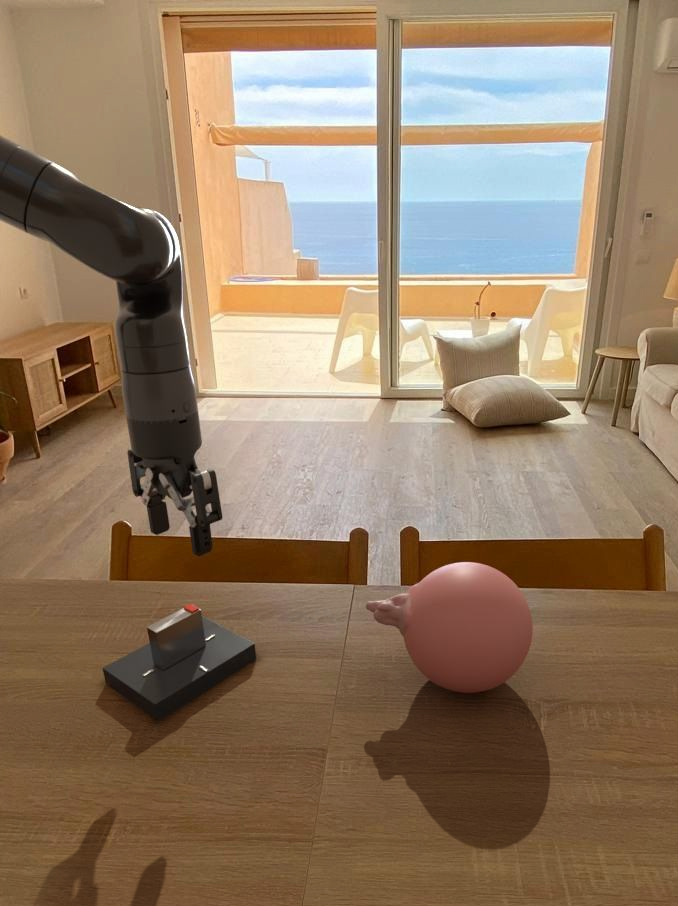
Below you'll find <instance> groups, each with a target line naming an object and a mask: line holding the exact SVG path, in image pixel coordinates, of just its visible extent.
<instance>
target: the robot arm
mask: <svg viewBox="0 0 678 906" xmlns="http://www.w3.org/2000/svg"><path fill="white" fill-rule="evenodd" d="M0 221H1V222H3V223H5V224H7V225H9V226H11V227H13V228H16V229H18V230H19V231H21V232H24V233H26V234H28V235H30V236H33V237H35V238H38V239H40V240H42V241H45V242H48V243H49V244H51V245H53V246H55V247H56V248H57V249H59V250H61V251H62V252H63V253H65V254H66V255H68V256H70V257H71V258H73V259H74V260H76V261H78V262H80V263H81V264H83V265H84V266H85V267H88V268H90V269H91V270H93V271H95V272H96V273H98V274H100V275H102V276H104V277H106V278H108V279H110V280H113V281H115V285H116V292H117V301H118V311H117V314H116V317H115V320H114V335H115V342H116V349H117V355H118V361H119V367H120V374H121V394H122V401H123V406H124V412H125V419H126V424H127V430H128V436H129V442H130V449H128V450H127V460H128V467H129V474H130V481H131V487H132V488H131V489H132V493H133V495H134V497H136V498H138V497H141V503H142V504H143V506H145V507H146V511H147V517H148V523H149V530H150V532H151V534H153V535H156V536H158V535H160V534H163V533H165V532H168V531H169V530H170V527H171V525H170V519H169V512H168V506H167V502H166V501H165V499H166V497H167V498H169V499H170V500H172V502H173V504H174V506H175V508H176V509H177V510H178V511H180V512H182V513H183V515H184V517H185V518H186V520H187V522H188V525H189V526H188V530H189V537H190V543H191V551H192V553H193V555H195V556H197V557H201V556H204V555H207V554H208V553H210V552H212V550H213V539H212V530H211V524H214V523H217V522H219V521H222V520H223V511H222V504H221V499H220V498H221V497H220V491H219V486H218V479H217V473H216V471H215V470H214V468H208V469H206V470H202V469H199V467H198V465H197V463H196V459H195V456H196V453H197V452H198V451H199V450H200V449H201V447H202V445H203V440H202V439H203V438H202V431H201V422H200V415H199V408H198V407H199V406H198V399H197V392H196V383H195V379H194V377H193V372H192V368H191V364H190V363H191V362H190V353H189V345H188V338H187V332H186V327H185V321H184V313H183V267H182V254H181V249H180V242H179V238H178V235H177V233H176V230H175V229H174V227H173V226H172V224H171V223H170V221H169V220H168V219H167V218H166V217H165V216H164V215H163V214H161V213H160V212H158V211H156V210H155V209H152V208H148V207H145V206H133V205H129V204H128V203H125V202H123V201H120V200H119V199H116V198H114V197H112V196H110V195H108V194H106V193H104V192H102V191H100V190H98V189H96V188H95V187H92V186H90V185H88V184H86V183H85V182H83V181H82V180H81V179H80V178H79V177H78V176H77V175H76V174H75V173H73V172H71V171H70V170H68V169H67V168H65V167H64V166H61V165H60V164H58V163H56V162H54V161H52V160H50V159H49V158H46V157H44V156H43V155H41V154H38V153H37V152H35V151H32V150H31V149H28V148H27V147H25V146H23V145H22V144H19V143H17V142H15V141H13V140H10V139H9V138H7V137H5V136H3V135H1V134H0ZM144 477H145V478H144ZM142 478H144V480H143V483H142V484H141V479H142ZM190 495H192V496H191V497H189V496H190ZM186 497H189V498H186ZM209 505H210V507H209ZM192 507H195V508H194V509H195V512H194V510H193V508H192ZM210 508H211V509H210ZM195 513H196V514H195Z"/></svg>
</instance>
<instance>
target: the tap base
mask: <svg viewBox="0 0 678 906" xmlns="http://www.w3.org/2000/svg"><path fill="white" fill-rule="evenodd" d="M202 621H203V628H204V635H205V642H206V646H205V647H203V648H201V649H200V650H198V651H196V652H194V653H193V654H191V655H189V656H187V657H186V658H184V659H182V660H180V661H179V662H177V663H175V664H174V665H172V666H170V667H168V668H167V669H165V670H162V669H160V668H158V667H157V666H155V665H154V664H153V658H152V653H151V647H150V642H149V643H147V644H145V645H143V646H141V647H140V648H137V649H136V650H135V649H134V650H133V651H131V652H130V653H128V654H126V655H123V656H122V657H120V658H119V659H116V660H115V661H113V662H111V663H109V664H107V665H105V666H103V667H102V672H103V677H104V682H105V685H106V686H108V687H109V688H110V689H111V690H113V691H114V692H116V693H118V694H119V695H120V696H122V697H123V698H124V699H126V700H127V701H128V702H130V703H131V704H133V705H134V706H136V707H137V708H139V709H140V710H141V711H143V712H144V713H145V714H147V715H149V716H150V717H151V718H152V719H154V720H155V721H157V722H160V721H162V720H163V719H165V718H166V717H168V716H169V715H171V714H173V713H174V712H176V711H177V710H179V709H180V708H181V707H184V706H185V705H186V704H189V703H190V702H191V701H193V700H194V699H196V698H198V697H199V696H201V695H203V694H204V693H206V692H207V691H209V690H210V689H212V688H213V687H215V686H217V685H218V684H220V683H221V682H223V681H224V680H227V679H228V678H230V677H231V676H233V675H234V674H236V673H237V672H239V671H241V670H242V669H244V668H245V667H247V666H248V665H250V664H252V663H253V662H255V661H256V660H257V651H256V644H255V642H253V641H251V640H249V639H247V638H245V637H243V636H242V635H241V634H240V635H239V634H238V633H236V632H234V631H232V630H230V629H228V628H227V627H224V626H222V625H220V624H218V623H217V622H215V621H213V620H211V619H209V618H208V617H205V616H203V615H202Z"/></svg>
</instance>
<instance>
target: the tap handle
mask: <svg viewBox="0 0 678 906" xmlns="http://www.w3.org/2000/svg"><path fill="white" fill-rule="evenodd" d="M202 616H203V615H202V609H201V608H199V607H198V606H196V605H194V604H192V603H189V604H187V605H184V606H183V608H180V609H179V610H178V611H175V612H173V613H172V614H169V615H167V616H165V617H163V618H162V619H160V620H158V621H156V622H154V623H152V624H150V625H147V626H146V630H147V635H148V636H147V637H148V640H149V641H148V642H149V643H150V647H151V653H152V658H153V664H154V665H155V666H157V667H158V668H160V669H162V670H165V669H167V668H168V667H170V666H172V665H174V664H175V663H177V662H179V661H180V660H182V659H184V658H186V657H187V656H189V655H191V654H193V653H194V652H196V651H198V650H200V649H201V648H203V647H205V646H206V642H205V635H204V628H203V621H202Z"/></svg>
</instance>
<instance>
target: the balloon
mask: <svg viewBox="0 0 678 906" xmlns="http://www.w3.org/2000/svg"><path fill="white" fill-rule="evenodd" d="M365 609H366V610H368V611H370V612H371V613H373V618H374V620H375V621H376V622H377V623H379V624H381V625H384V626H390V627H391V626H392V627H395V628H396V629H398V630H399V632H400V635H401V636H402V637H403V641H404V645H405V648H406V651H407V653H408V656H409V658H410V659H411V661H412V662H413V664H414V666H415V667H416V668H417V669H418V671H419V672H420V673H421V674H422V675H423V676H424V677H425V678H427V679H428V680H429V681H431V682H432V683H433V684H435V685H437V686H439V687H440V688H443V689H445V690H449V691H452V692H457V693H462V694H475V693H481V692H486V691H490V690H492V689H495V688H496V687H499V686H501V685H502V684H504V683H505V682H507V681H508V680H509V679H511V678H512V677H513V676H514V675H515V674H516V673H517V671H518V670H520V668H521V666H522V665H523V663H524V662H525V661H526V658H527V656H528V654H529V651H530V648H531V645H532V641H533V627H534V626H533V617H532V613H531V608H530V606H529V604H528V601H527V599H526V597H525V595H524V594H523V591H521V589H520V588H519V587H518V585H517V584H516V583H515V582H514V581H513V580H512V579H511V578H509V577H508V576H507V575H506V574H505V573H504V572H502V571H500V570H498V569H497V568H494V567H492V566H490V565H486V564H484V563H479V562H473V561H472V562H471V561H461V562H454V563H449V564H445V565H444V566H441V567H438V568H436V569H434V570H433V571H432V572H430V573H429V574H427V575H426V576H425V577H424V578H422V579H421V580H420V581H419V582H417V583H416V584H414V585H411V586H410V587H409V588H408V590H407V592H406V593H398V594H396V595H394V596H391V597H389V598H387V599H383V600H374V601H373V600H369V601H367V602H366V603H365Z"/></svg>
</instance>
